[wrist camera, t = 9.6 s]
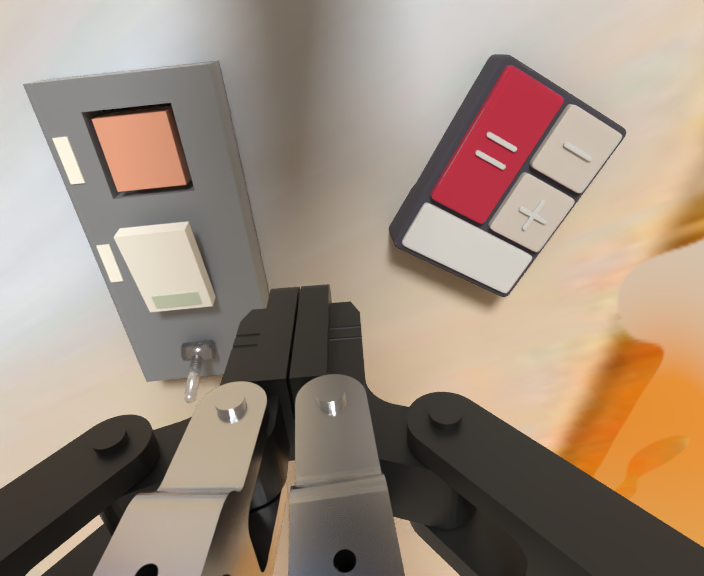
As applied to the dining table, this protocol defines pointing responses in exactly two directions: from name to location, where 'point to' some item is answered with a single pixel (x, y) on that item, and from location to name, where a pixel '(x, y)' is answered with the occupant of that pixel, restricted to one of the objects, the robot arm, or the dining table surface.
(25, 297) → the dining table surface
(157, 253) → the white slab
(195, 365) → the toggle lever
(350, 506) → the robot arm
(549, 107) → the calculator
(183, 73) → the panel
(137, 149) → the push button
